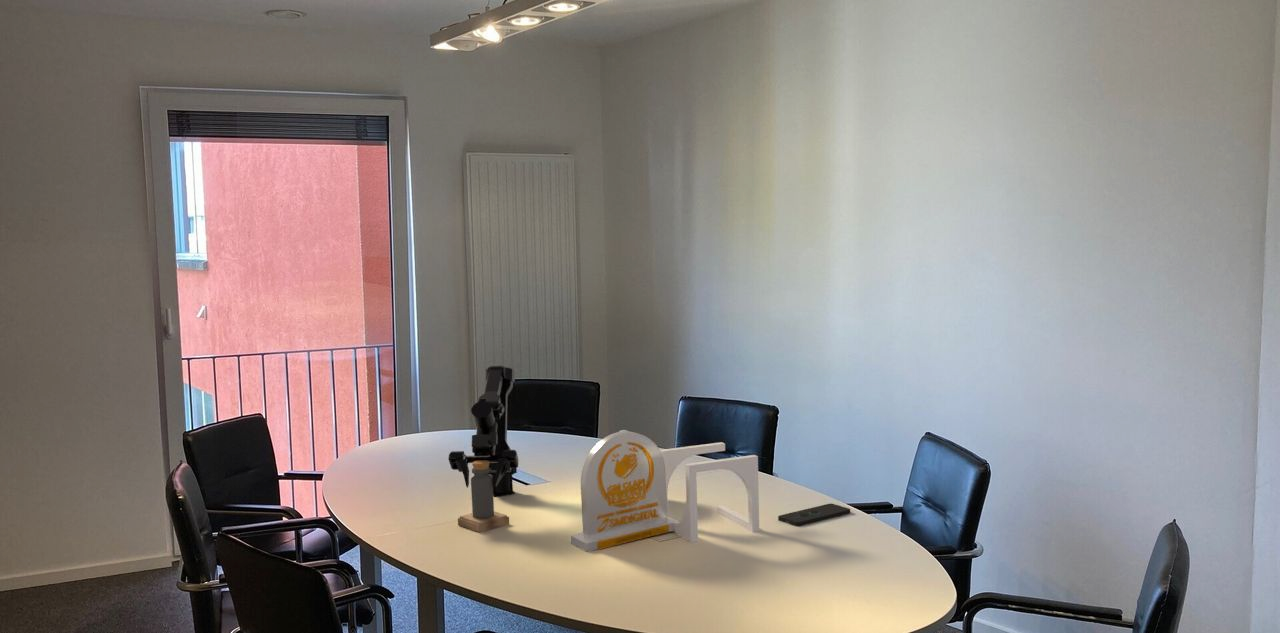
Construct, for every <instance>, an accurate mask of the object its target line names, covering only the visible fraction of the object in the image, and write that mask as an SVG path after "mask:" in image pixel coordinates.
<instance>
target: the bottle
mask: <svg viewBox="0 0 1280 633" xmlns="http://www.w3.org/2000/svg"><path fill="white" fill-rule="evenodd" d="M471 464H472V468H471V474H473V476H472V477H471V478H470V486H471V488H470V489H471V490H470V492H471V507H472V510H471V511H472V512H471V513H473V517H474V518H489V517H492V516H493V515H494V511H495V509H494V508H495V507H494V505H495V504H494V501H495V500H494V495H493V481H492V477H491V476H490V475H489V472H490V471H491V468H490V467H489V461H487V460H480V461H474V462H472V463H471Z"/></svg>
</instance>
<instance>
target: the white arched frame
mask: <svg viewBox="0 0 1280 633" xmlns="http://www.w3.org/2000/svg"><path fill="white" fill-rule="evenodd" d="M659 450H660V452H661V454H662V456H663V459H664V463H665V469H666V489H667V491H668V488H669V484H670V480H671V478H672V475H673V474H674V473H675V470H676V469H677V468H678V466H680V465H681V463H683V462H684V461H685V460H687V459H689V458H691V457H693V456H696V455H702V454H710V453H717V452H718V453H719V452H725V451H726V443H724V442H722V441H720V442H713V443H712V442H711V443H706V444H699V445H697V444H696V445H688V446H680V447H674V448H665V449H659ZM716 470H727V471H731V472H733V473H734V474H735V475H736V476H737V477H739V479H741V482H742V483H743V484H744V487H745V489H746V493H747V505H748V509H747V510H748V511H747V512H748V517H747V516H745V515H742V514H741V513H739V512H736V511H735V510H734V509H731V508H729V507H727V506H726V505H717V506H716V514H718V515H720V516H722V517H724V518H725V519H727V520H729V521H731V522H733V523H734V524H736V525H739V526H740V527H743V528H744V529H746V530H748V531H750V532H752V533H755V532H760V500H759V499H760V497H759V496H760V495H759V456H758V455H755V454H750V455H745V456H744V455H742V456H736V457H729V458H728V457H727V458H719V459H713V460H706V461H705V460H704V461H699V462H698V461H697V462H692V463H685V491H686V492H685V493H686V494H685V496H686V497H685V500H686V501H685V509H684V514H683V516H682V518H681V520H680V521H679V523H678V524H675V531H672V532H673V533H675V534H676V535H678V536H679V537H682V538H683V539H685V540H687V541H688V542H690V543H696V542H699V532H698V531H699V530H698V529H699V528H698V526H699V525H698V522H699V521H698V494H697V493H698V492H697V491H698V490H697V486H698V484H697V473H701V472H709V471H716ZM668 503H669V501H668V497H667V512H668V513H669V507H668V506H669V504H668ZM668 517H670V516H669V515H668Z"/></svg>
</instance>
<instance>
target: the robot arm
mask: <svg viewBox="0 0 1280 633" xmlns="http://www.w3.org/2000/svg"><path fill="white" fill-rule="evenodd" d="M515 380H516V373H515V370H514V369H513V368H511V367H510V366H509V367H508V366H507V367H506V366H503V365H490V366H488V367H487V368H486V369H485V381H486V383H485V388H484V393H483V394H482V395H480V396H479V397H478V400H477V402H475V403H474V404H473V405H472V406H471V409H470V410H471V415H472V419H473V422H474V426H475V427H476V431H475V432H476V434H473V435H471V451H472V454H473V455H466V454H465V451H464V450H456V451H455V450H453V451H450V452H449V454H448V462H449V465H450V468H451V470H453V471H455V470H456V471H458V472H460V473H462V476H463V478H464V484H465V488H469V484H470V468H469V464H472V462H474V461H480V460H487V461H489V467H490V468H491V471H490V472H489V475H490V476H491V477H492V481H493V497H498V496H506V495H512V494H515V491H514V486H513V483H514V482H513V475H515V474H517V473H518V472H517V470H518V467H519V456H518V452H517V450H515V449H511V447H510V446H509V443H508V396H509V395H510V393H511V391H512V390H513V385H514V382H515Z"/></svg>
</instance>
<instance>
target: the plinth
mask: <svg viewBox="0 0 1280 633" xmlns="http://www.w3.org/2000/svg"><path fill="white" fill-rule="evenodd" d="M458 525H459V527H461V526H462V528H464V527H465V529H467V528H468V530H470V529H471V531H473V530H474V531H473V532H475V533H476V532H477V533H482V532H487V531H491V530H493V529H497V528H500V527H505V526H507V525H510V516H508V515H507V514H504V513H500V512H497V511H495V510H494V515H493V516H492V517H489V518H474V517H473V512H471V513H468V514H464V515H460V516H459V517H458V518H457V526H458Z"/></svg>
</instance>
